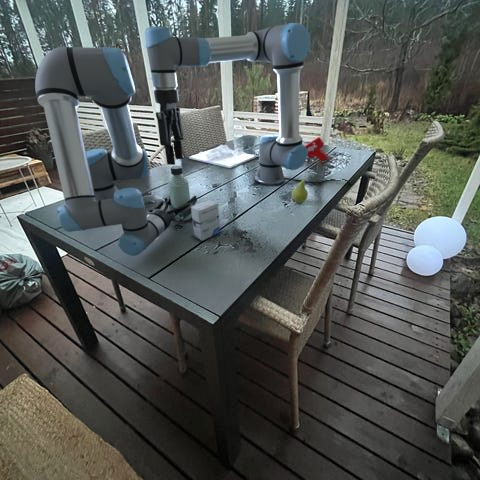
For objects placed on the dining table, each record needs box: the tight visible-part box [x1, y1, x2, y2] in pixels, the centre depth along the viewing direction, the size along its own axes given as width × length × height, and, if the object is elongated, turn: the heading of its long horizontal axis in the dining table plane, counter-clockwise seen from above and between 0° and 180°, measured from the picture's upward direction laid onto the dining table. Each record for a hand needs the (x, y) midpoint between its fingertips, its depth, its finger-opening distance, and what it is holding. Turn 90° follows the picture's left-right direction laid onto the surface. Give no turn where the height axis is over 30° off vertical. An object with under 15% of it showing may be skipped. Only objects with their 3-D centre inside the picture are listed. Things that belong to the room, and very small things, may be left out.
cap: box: [170, 165, 183, 176], centre depth 100 cm, size 4×4×2 cm
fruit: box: [291, 174, 311, 204], centre depth 118 cm, size 7×8×12 cm
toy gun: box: [304, 136, 329, 164], centre depth 170 cm, size 18×4×15 cm
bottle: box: [167, 174, 192, 222], centre depth 105 cm, size 8×8×20 cm
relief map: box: [188, 143, 257, 169], centre depth 179 cm, size 27×35×5 cm
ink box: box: [191, 199, 221, 241], centre depth 95 cm, size 8×5×12 cm, turn 134°
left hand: (186, 197), depth 111 cm, fingers closed on bottle, 7 cm apart
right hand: (175, 161), depth 98 cm, fingers open, 6 cm apart
